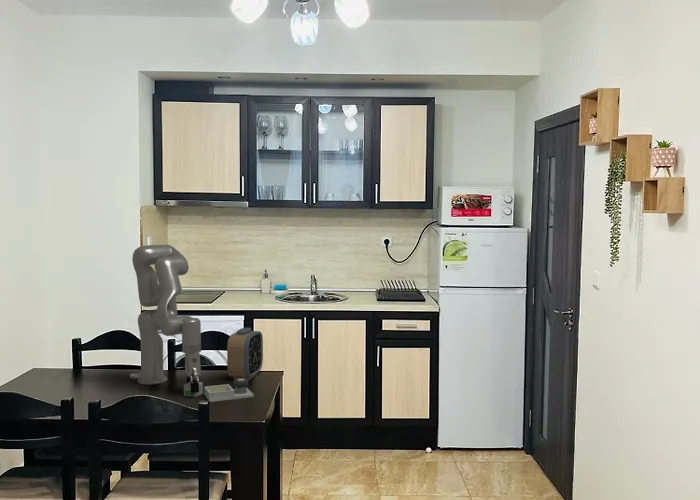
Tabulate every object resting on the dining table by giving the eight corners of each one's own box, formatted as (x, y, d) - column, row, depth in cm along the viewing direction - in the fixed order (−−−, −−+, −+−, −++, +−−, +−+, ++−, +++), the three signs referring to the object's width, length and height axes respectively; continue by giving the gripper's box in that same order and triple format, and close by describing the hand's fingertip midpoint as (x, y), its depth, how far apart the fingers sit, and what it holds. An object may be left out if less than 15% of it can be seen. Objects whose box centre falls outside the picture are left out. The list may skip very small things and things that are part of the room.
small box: (183, 396, 272) (183, 384, 272) (191, 392, 278) (191, 380, 277) (195, 397, 270) (195, 385, 270) (203, 393, 276) (203, 382, 275)
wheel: (235, 393, 270) (235, 382, 270) (232, 389, 276) (231, 378, 275) (249, 391, 273) (249, 380, 272) (246, 388, 278) (246, 377, 278)
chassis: (209, 401, 264) (209, 393, 264) (204, 394, 274) (204, 386, 273) (253, 396, 271) (253, 388, 271) (247, 390, 281) (247, 382, 280)
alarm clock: (247, 383, 292) (247, 334, 290) (227, 382, 293) (227, 333, 292) (263, 371, 312) (263, 326, 310) (244, 370, 314) (243, 325, 312)
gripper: (205, 351, 267) (206, 393, 268) (197, 343, 283) (198, 383, 284) (185, 353, 264) (187, 396, 265) (179, 345, 280) (180, 385, 281)
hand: (192, 389), depth 274 cm, fingers open, 9 cm apart
